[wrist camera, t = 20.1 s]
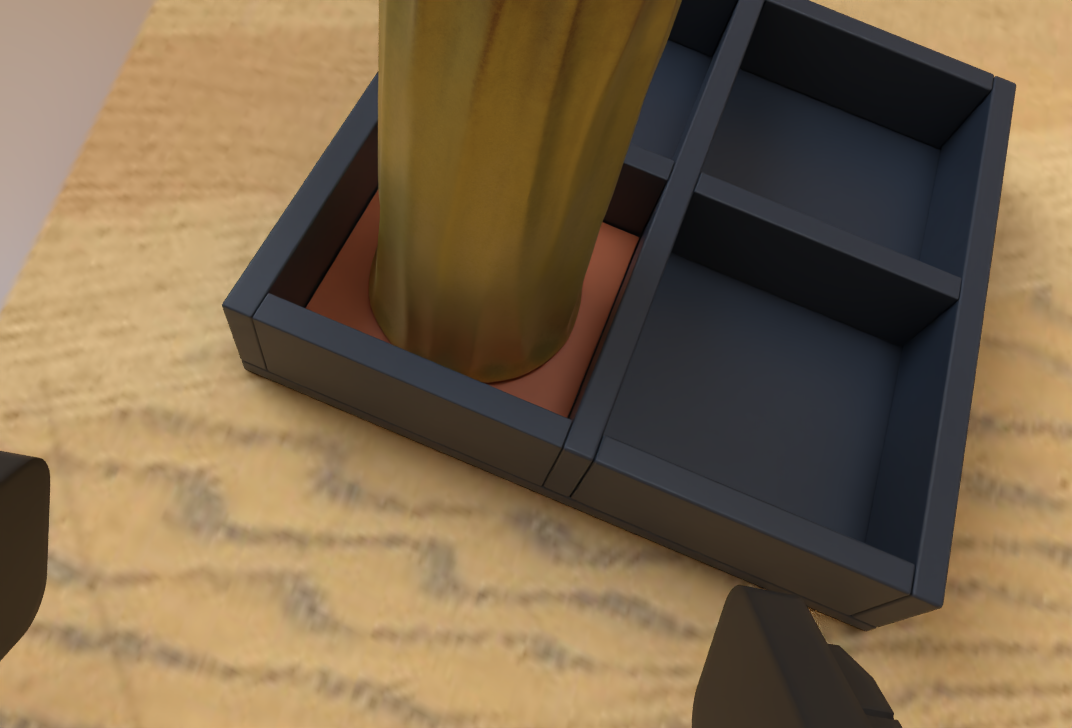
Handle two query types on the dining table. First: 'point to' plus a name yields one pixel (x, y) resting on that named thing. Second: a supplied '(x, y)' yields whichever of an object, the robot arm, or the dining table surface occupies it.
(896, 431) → the grid
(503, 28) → the vase
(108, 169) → the dining table surface
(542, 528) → the dining table surface
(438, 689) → the dining table surface
